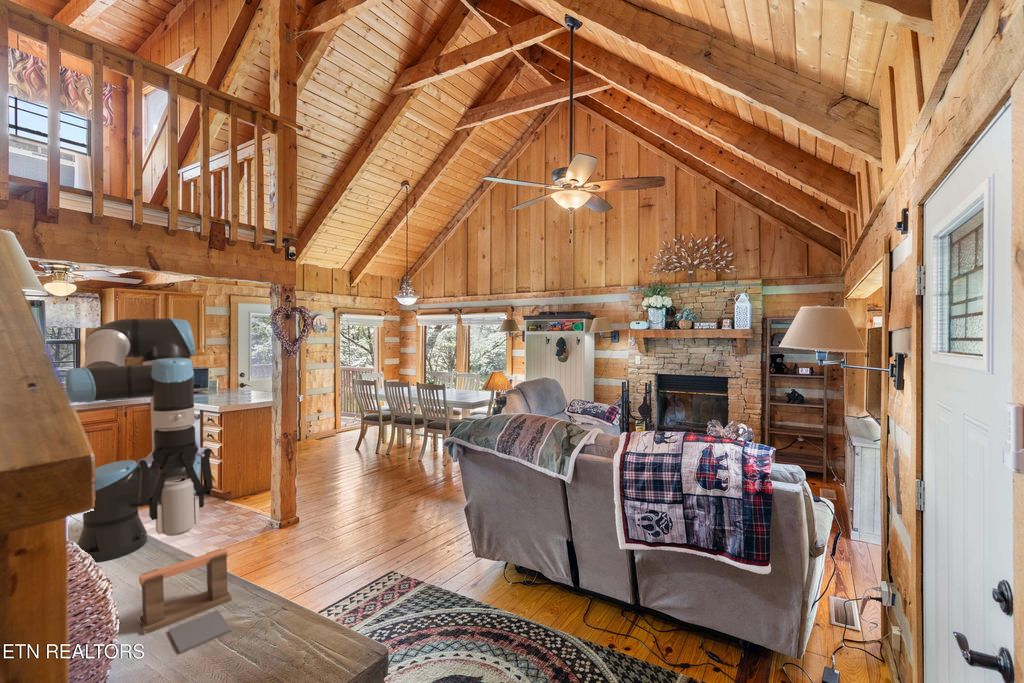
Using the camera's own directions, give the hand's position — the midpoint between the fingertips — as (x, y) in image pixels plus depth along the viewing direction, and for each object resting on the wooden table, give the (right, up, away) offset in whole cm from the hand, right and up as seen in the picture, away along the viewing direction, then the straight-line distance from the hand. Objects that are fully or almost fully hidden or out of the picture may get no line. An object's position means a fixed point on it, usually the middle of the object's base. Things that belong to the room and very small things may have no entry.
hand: (178, 526), depth 107 cm
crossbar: (+4, -8, -3) cm, 9 cm away
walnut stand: (+4, -18, -2) cm, 18 cm away
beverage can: (0, -1, 0) cm, 1 cm away
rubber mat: (+11, -18, -9) cm, 23 cm away
